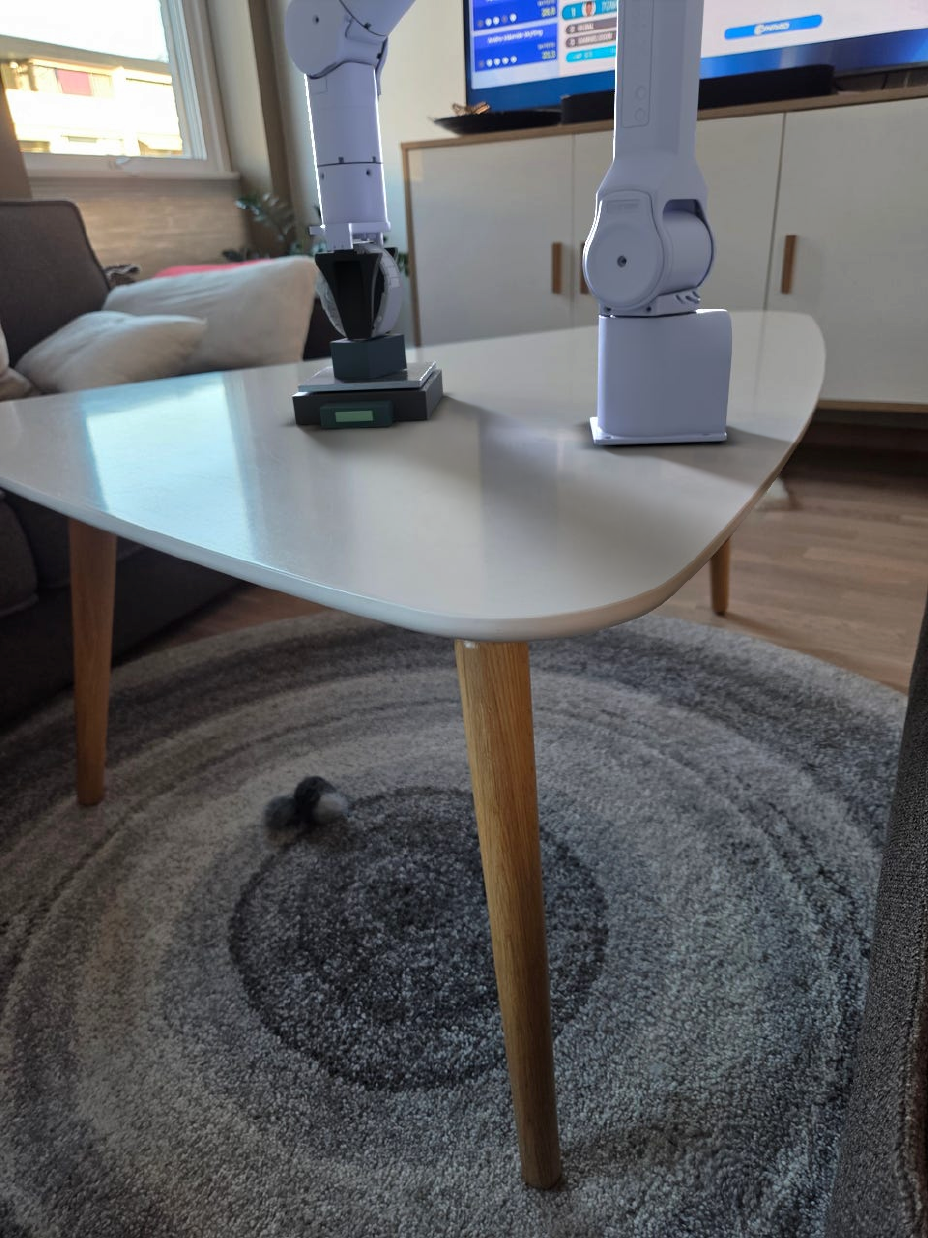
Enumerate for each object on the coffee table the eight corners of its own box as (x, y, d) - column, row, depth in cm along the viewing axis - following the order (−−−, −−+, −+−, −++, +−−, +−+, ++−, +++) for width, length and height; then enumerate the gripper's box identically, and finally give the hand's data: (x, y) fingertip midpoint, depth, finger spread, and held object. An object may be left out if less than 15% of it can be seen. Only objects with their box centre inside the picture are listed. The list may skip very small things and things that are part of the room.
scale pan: (435, 367, 81) (435, 361, 81) (420, 387, 72) (419, 380, 71) (328, 372, 83) (327, 366, 82) (298, 392, 73) (297, 385, 72)
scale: (443, 394, 83) (441, 368, 82) (423, 425, 70) (421, 396, 69) (328, 398, 84) (324, 373, 83) (287, 430, 71) (283, 401, 70)
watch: (355, 365, 80) (341, 243, 76) (422, 369, 76) (411, 239, 72) (317, 376, 76) (299, 247, 71) (385, 380, 72) (371, 243, 67)
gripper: (324, 174, 76) (341, 327, 82) (278, 163, 63) (303, 346, 69) (398, 169, 76) (411, 323, 81) (367, 157, 63) (385, 342, 68)
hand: (366, 334), depth 75 cm, fingers closed on watch, 6 cm apart
